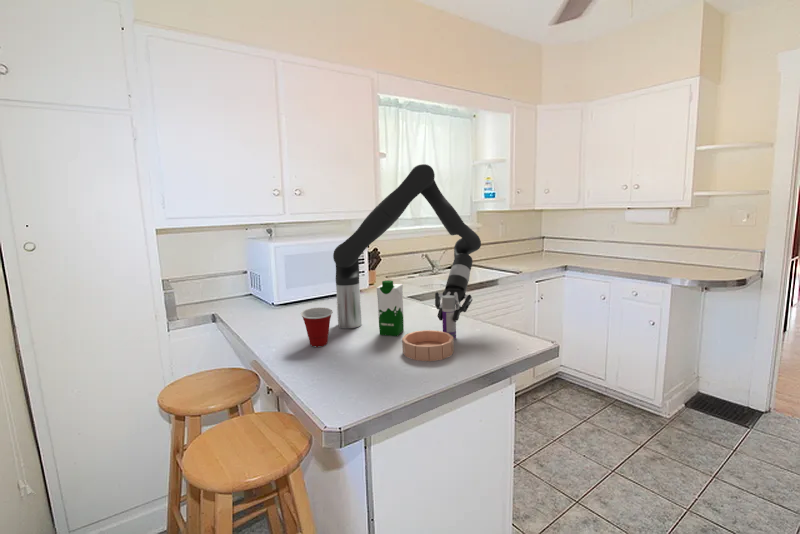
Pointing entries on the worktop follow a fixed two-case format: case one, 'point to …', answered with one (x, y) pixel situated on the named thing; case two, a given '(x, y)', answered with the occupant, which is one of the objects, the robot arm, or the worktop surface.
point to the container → (448, 314)
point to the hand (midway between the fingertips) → (447, 319)
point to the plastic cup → (317, 325)
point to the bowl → (428, 345)
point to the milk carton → (390, 308)
